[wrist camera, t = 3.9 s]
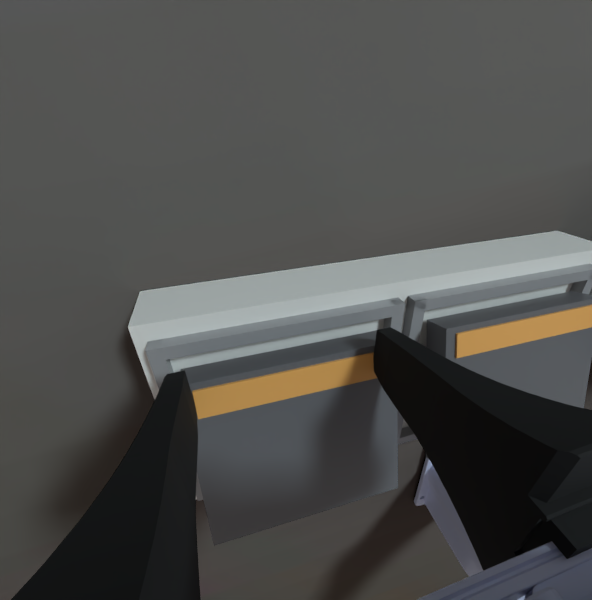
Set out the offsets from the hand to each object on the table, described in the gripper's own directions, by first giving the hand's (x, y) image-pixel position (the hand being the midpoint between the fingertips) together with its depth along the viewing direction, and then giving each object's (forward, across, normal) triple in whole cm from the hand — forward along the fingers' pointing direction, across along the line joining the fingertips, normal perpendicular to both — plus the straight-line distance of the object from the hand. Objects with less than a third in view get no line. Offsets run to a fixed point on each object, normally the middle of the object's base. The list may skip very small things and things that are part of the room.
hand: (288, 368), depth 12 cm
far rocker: (0, -12, +4) cm, 13 cm away
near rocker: (0, 0, +4) cm, 4 cm away
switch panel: (+5, -6, +4) cm, 9 cm away
